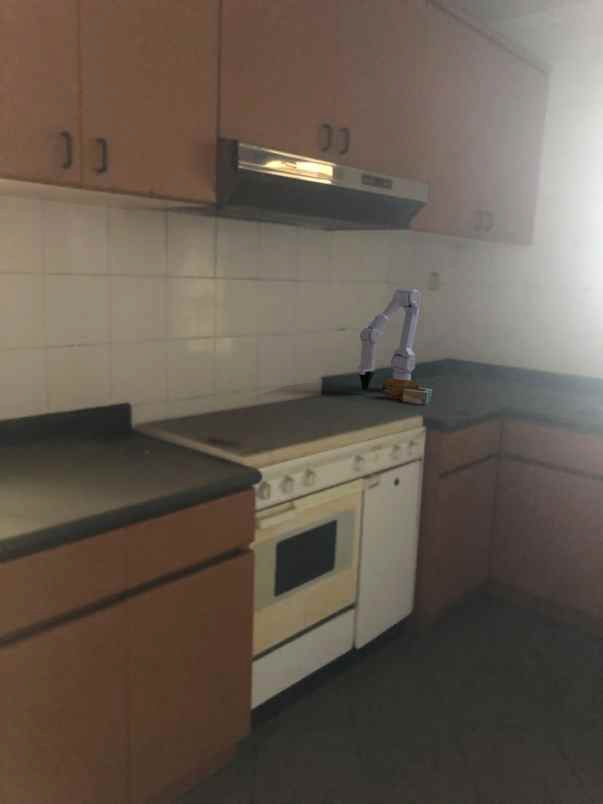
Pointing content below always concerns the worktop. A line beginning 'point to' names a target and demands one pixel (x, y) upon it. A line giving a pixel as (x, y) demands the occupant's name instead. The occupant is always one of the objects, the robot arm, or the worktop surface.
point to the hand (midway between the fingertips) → (364, 389)
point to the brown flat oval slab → (398, 387)
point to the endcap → (417, 396)
